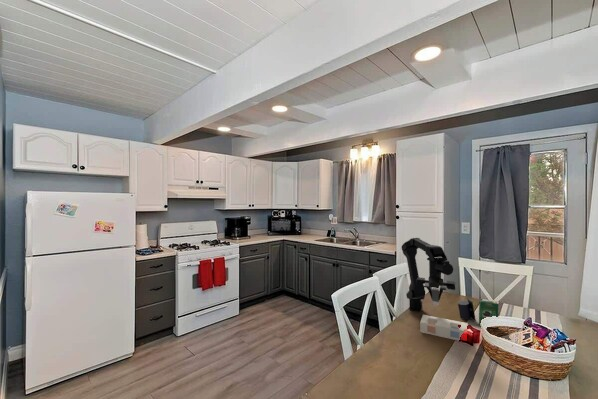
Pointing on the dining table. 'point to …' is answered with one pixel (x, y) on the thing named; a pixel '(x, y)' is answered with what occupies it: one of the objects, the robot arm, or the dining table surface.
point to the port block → (442, 327)
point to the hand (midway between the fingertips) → (435, 299)
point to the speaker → (466, 310)
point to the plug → (435, 296)
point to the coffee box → (487, 309)
